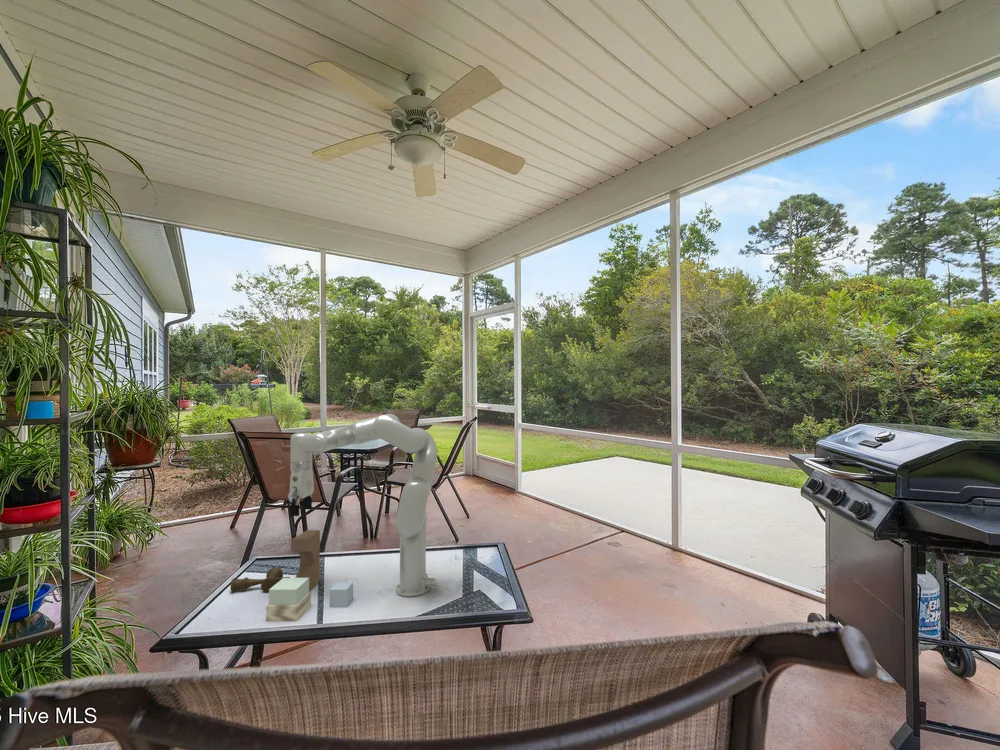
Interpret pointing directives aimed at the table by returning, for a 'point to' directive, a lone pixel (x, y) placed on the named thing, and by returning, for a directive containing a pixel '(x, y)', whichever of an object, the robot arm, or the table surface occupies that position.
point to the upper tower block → (289, 591)
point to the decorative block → (308, 556)
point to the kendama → (259, 581)
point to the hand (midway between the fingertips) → (301, 512)
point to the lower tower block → (288, 610)
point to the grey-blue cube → (341, 594)
